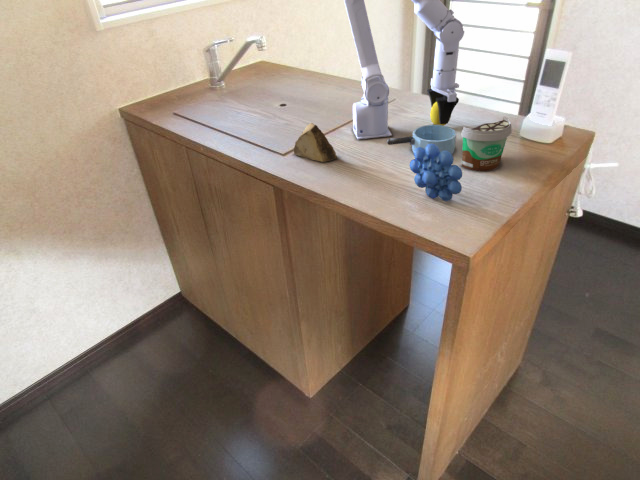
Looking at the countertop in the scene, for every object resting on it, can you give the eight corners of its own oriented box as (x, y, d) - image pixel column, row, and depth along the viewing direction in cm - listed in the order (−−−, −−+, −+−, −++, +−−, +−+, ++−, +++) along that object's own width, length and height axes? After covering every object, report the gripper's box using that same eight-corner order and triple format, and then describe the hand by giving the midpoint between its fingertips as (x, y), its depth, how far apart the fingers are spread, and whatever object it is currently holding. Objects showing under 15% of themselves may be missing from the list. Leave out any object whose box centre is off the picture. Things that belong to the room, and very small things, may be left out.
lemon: (449, 131, 121) (453, 102, 116) (429, 131, 122) (431, 102, 118) (449, 124, 125) (452, 95, 121) (429, 123, 127) (431, 95, 122)
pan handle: (413, 141, 112) (414, 134, 111) (415, 144, 111) (416, 137, 110) (386, 144, 112) (386, 137, 111) (387, 147, 110) (387, 140, 109)
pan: (418, 160, 109) (420, 143, 106) (407, 143, 117) (408, 127, 114) (460, 156, 109) (462, 138, 106) (446, 139, 118) (447, 122, 115)
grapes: (398, 199, 95) (400, 147, 88) (413, 186, 99) (417, 135, 92) (449, 215, 89) (456, 160, 81) (464, 200, 93) (471, 146, 86)
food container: (473, 178, 100) (480, 136, 94) (456, 168, 104) (461, 127, 98) (517, 165, 103) (526, 124, 97) (498, 155, 108) (505, 115, 102)
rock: (281, 148, 114) (298, 156, 106) (294, 116, 113) (313, 123, 105) (314, 163, 121) (332, 172, 113) (327, 133, 119) (347, 140, 111)
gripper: (471, 74, 109) (464, 127, 117) (450, 59, 120) (445, 108, 128) (442, 77, 108) (437, 130, 116) (424, 62, 120) (421, 111, 128)
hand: (440, 119), depth 122 cm, fingers closed on lemon, 5 cm apart
